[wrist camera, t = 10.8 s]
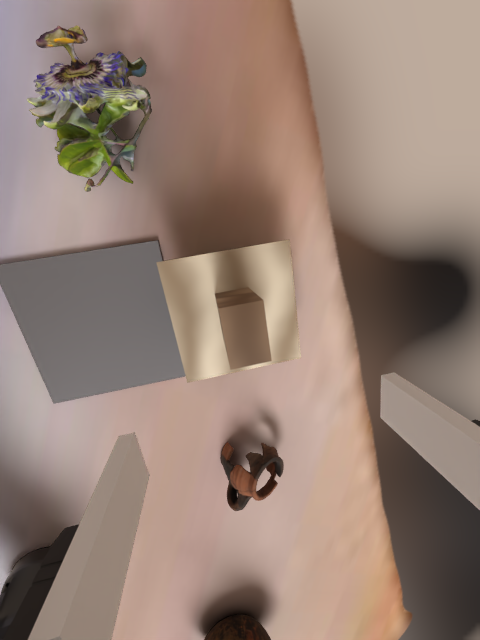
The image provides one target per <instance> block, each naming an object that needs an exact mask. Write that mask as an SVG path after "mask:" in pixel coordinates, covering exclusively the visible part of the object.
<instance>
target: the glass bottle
mask: <svg viewBox="0 0 480 640" xmlns="http://www.w3.org/2000/svg"><path fill="white" fill-rule="evenodd" d="M205 640H271V639H270V637H269V635H268V633H267V632H266V630H265V629H264V628H263V626H262V625H261V624H260V623H259V622H258V621H257V620H255V619H254V618H252V617H250V616H247V615H233V616H230V617H227V618H225V619H223V620H221V621H220V622H218V623H217V624H216V625H215V626H214V627H213V628H212V629H211V630H210V632H209V633H208V634H207V636H206V638H205Z"/></svg>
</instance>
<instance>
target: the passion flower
mask: <svg viewBox="0 0 480 640" xmlns="http://www.w3.org/2000/svg"><path fill="white" fill-rule="evenodd" d="M86 41H87V37H86V34H85V32H84V30H83V29H81V30H80V27H79V26H75V27H73V28H70V29H68V30H66V29H63V28H61V27H60V26H58V27H57V28H56V29H54V30H52V31H51V32H46V33H44V34H43V35H41V36H40V38H39V39H37V40H36V44H37V45H38V46H39V47H41V48H48V47H57V46H64V47H65V48H66V50H67V51H68V53H69V54H70V56H71V58H72V61H71V66H69V65H68V64H60V63H55V65H53V66H51V67H50V68H51V71H50V72H49V74H47V73H45V74H39V75H37V80H34V82H36V85H35V86H36V87H37V88H38V89H37V90H35V91H36V93H39V94H41V96H40V97H38V98H28V99H27V100H28V102H29V103H31V104H33V105H34V106H35V107H36V108H33V109H30V110H29V111H30V112H31V113H32V115H34V116H38V117H39V119H36V123H37V125H38V126H39V127H42V125H45V126H47V127H49V128H51V129H57V135H58V137H59V140H60V141H58V142H57V147H55V150H56V151H58V152H60V155H59V154H57V155H58V163H59V164H60V166H62V167H63V168H65V169H66V170H67V171H68V172H69V173H72V174H76V175H79V176H84V177H87V178H89V177H92V176H94V175H96V174H97V173H98V172H99V170H100V169H101V167H102V166H103V165H104V163H105V162H107V163H108V166H109V168H108V169H107V170H106V172H105V174H104V176H103V177H102V178H101V179H100V181H99V183H98V184H97V185H94V182H93V180H92V179H88V181H87V183H86V187H85V191H87V192H89V191H91V187H96V186H99V185H101V183H102V182H103V181H104V180H105V178H106V177H107V175H108V173H109V172H110V171H111V170H112V171H113V172H114V173H115V174H116V175H117V176H118V177H119V178H121V179H122V180H124V181H126V182H129V183H132V184H133V181H132V180H131V179H130V178H129V177H128V176H127V175H126V173H125V172H124V170H123V169H122V167H121V165H120V158H121V156H122V157H123V158H124V159H125V160H128V161H129V162H130V164H131V171H133V166H134V152H135V149H136V147H137V146H136V141H137V139H138V137H139V135H140V132H141V130H142V128H143V126H144V125H145V123H146V121H147V120H148V119H149V116H150V114H151V112H152V109H151V102H150V100H149V99H150V98H151V97H150V94H149V92H148V91H147V89H146V88H144V87H142V86H140V85H137V86H135V85H134V84H132V83H131V82H130V80H129V79H128V77H129V76H137V77H142V76H144V75H145V73H146V63H145V62H144V60H143V59H142V58H141V57H140V58H138V60H136V61H135V62H132V63H131V62H129V61H128V60H127V58H126V57H125V55H123V54H122V53H121V52H119V51H118V53H117V54H116V53H112V54H109V55H104V54H103V53H101V52H100V53H98V54H97V55H96V57H95V58H93V60H90V62H89V63H86V64H84V63H83V62H82V61H80V60H79V59H78V57H77V56H76V54H75V52H74V49H73V43H78V44H82V43H85V42H86ZM104 102H105V105H104V107H103V109H102V112H101V111H100V109H99V107H100V105H101V104H103V103H104ZM138 109H142V110H143V112H144V114H145V117H144V118H143V120H142V121H141V123H140V125H139V127H138V129H137V131H136V133H135V135H134V137H133V138H132V139H128V140H122V139H121V138H120V137H119V136H118V135H117V134H116V132H115V131H114V130H113V129H112V127H111V126H112V125H113V124H114V123H116V122H117V121H119V120H121V119H122V118H123V117H125V116H127V115H128V114H129V112H130V111H131V110H132V111H136V110H138ZM95 110H97V111H98V113H99V114H100V116H99V121H98V123H94V122H92V121H91V120H90V119H89V118H88V117H87V116H86V114H85V113H93V112H95ZM68 123H71V124H73V125H71V124H68ZM74 125H75V126H74ZM77 126H80V127H82V128H84V129H86V130H83V129H81V128H79V127H77ZM110 129H111V130H112V132H113V133H114V135H115V136H116V139H115V140H110V139H108V138H107V136H106V134H107V133H108V132H109V130H110ZM114 144H118V145H122V146H123V149H122V150H121V151H120V152H119V153H118V154H117V155H115V154H113V153H112V152H111V146H112V145H114Z"/></svg>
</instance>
